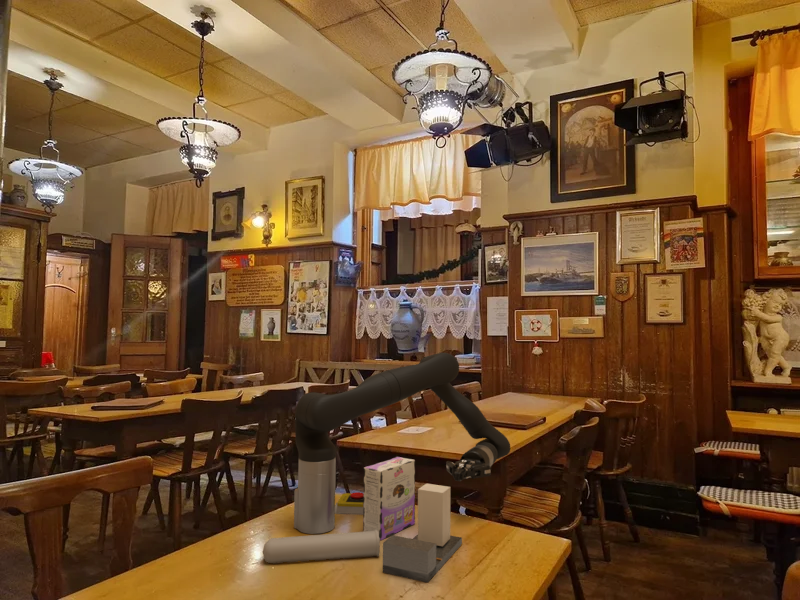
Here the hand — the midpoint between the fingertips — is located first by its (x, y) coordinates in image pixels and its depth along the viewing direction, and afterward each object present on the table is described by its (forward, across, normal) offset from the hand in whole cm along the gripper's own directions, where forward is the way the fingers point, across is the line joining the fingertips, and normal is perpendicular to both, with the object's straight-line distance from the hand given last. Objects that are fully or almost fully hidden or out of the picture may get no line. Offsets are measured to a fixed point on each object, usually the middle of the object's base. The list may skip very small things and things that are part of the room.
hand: (457, 477), depth 139 cm
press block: (+16, 0, +10) cm, 19 cm away
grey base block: (+22, 0, +12) cm, 24 cm away
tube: (+32, -20, +12) cm, 39 cm away
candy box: (+10, -14, +12) cm, 21 cm away
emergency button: (0, -28, +13) cm, 31 cm away
